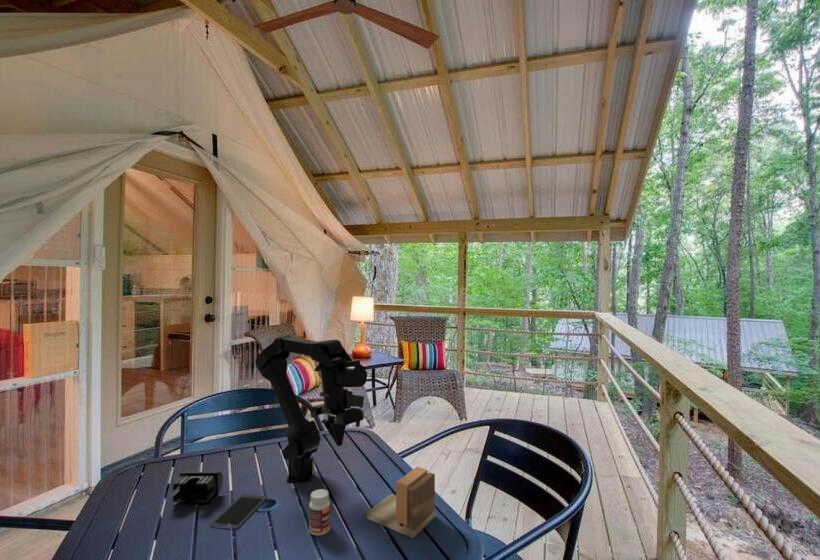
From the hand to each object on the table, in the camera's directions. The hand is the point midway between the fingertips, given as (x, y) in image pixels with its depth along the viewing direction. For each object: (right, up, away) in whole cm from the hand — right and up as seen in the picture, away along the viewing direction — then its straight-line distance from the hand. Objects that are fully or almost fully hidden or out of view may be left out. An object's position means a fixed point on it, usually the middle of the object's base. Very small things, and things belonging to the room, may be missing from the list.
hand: (339, 445), depth 110 cm
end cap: (-36, -13, -3) cm, 39 cm away
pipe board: (+17, -13, -11) cm, 24 cm away
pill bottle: (-2, -13, -16) cm, 21 cm away
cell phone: (-23, -13, -9) cm, 28 cm away
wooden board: (+19, -11, -13) cm, 26 cm away
